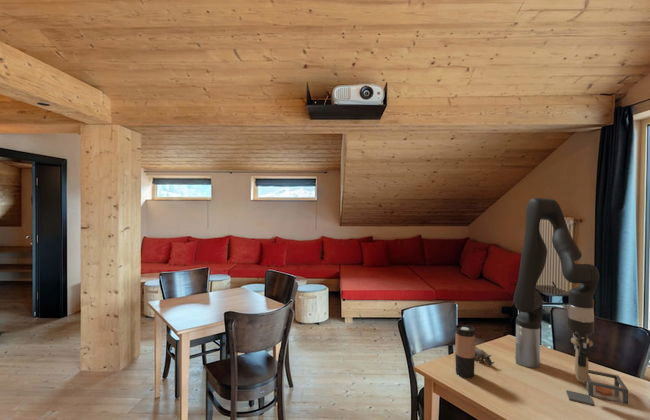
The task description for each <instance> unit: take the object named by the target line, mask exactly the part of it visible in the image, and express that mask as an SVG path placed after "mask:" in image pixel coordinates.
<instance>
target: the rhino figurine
mask: <svg viewBox="0 0 650 420" xmlns="http://www.w3.org/2000/svg"><path fill="white" fill-rule="evenodd" d="M475 357H476V358H477V359H476V362H477V361H480V360H481V361H483V362H484V361H485V362H486V363H487V364H488V365H489V366H492V365H493V364H494V363H495V361H492V359H491V357H492V354H488V353H487V352H486V351H485V350H483V349H481V348H478V347H477V346H476V345H475ZM481 361H480V362H481ZM483 362H482V363H483ZM485 362H484V363H485Z"/></svg>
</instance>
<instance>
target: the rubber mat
mask: <svg viewBox="0 0 650 420" xmlns="http://www.w3.org/2000/svg"><path fill="white" fill-rule="evenodd" d="M566 394H567V397H568V400H569V401H571V402H576V403H580V404H584V405H589V406H595V404H594V401H593V399H592V396H590V395H589V394H584V393H582V392H581V393H580V392H578V391H577V392H576V391H573V390H568V389H566Z"/></svg>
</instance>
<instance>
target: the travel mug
mask: <svg viewBox="0 0 650 420" xmlns="http://www.w3.org/2000/svg"><path fill="white" fill-rule="evenodd" d="M475 337H476V329H475V328H474V326H472V325H469V324H467V325H462V324H460V323H459V324H456V326H455V345H454V346H455V347H454V348H455V349H454V350H455V351H454V355H455V357H454V358H455V360H454V361H455V374H456V375H457V376H458V375H459V376H458V377H459V378H460V377H461V378H462V377H463V378H462V379H467V378H470V379H473V378H474V377H475V367H476V366H475V365H476V364H475V362H476V358H475V346H476V338H475ZM472 377H473V378H472Z"/></svg>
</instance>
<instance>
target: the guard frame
mask: <svg viewBox="0 0 650 420" xmlns="http://www.w3.org/2000/svg"><path fill="white" fill-rule="evenodd" d="M589 374H592V375H597V376H602V377H606V378H611V379H614V380H613V383H614V384H613V385H612V384H607V383H602V382H599V381H598V382H597V381H593V380H592V378H591V377H590V375H589ZM587 378H588V379H587V381H586V382H582V383H583V385H584V388H585V390H586V392H587V395H590V397H593V398H598V399H603V400H607V401H610V402H611V401H612V402H616V403H619V404H623V405H629V389H628V387H627V386H626V384H625V383H624V381H623V380H622V378H621V376H619V375H618V374H613V373H609V372H602V371H599V370H593V369H588V377H587ZM595 386H599V387H604V388H608V389H613V394H611V395H608V394H604V393H601V392H599V391H597V390H596V389H595Z"/></svg>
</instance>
